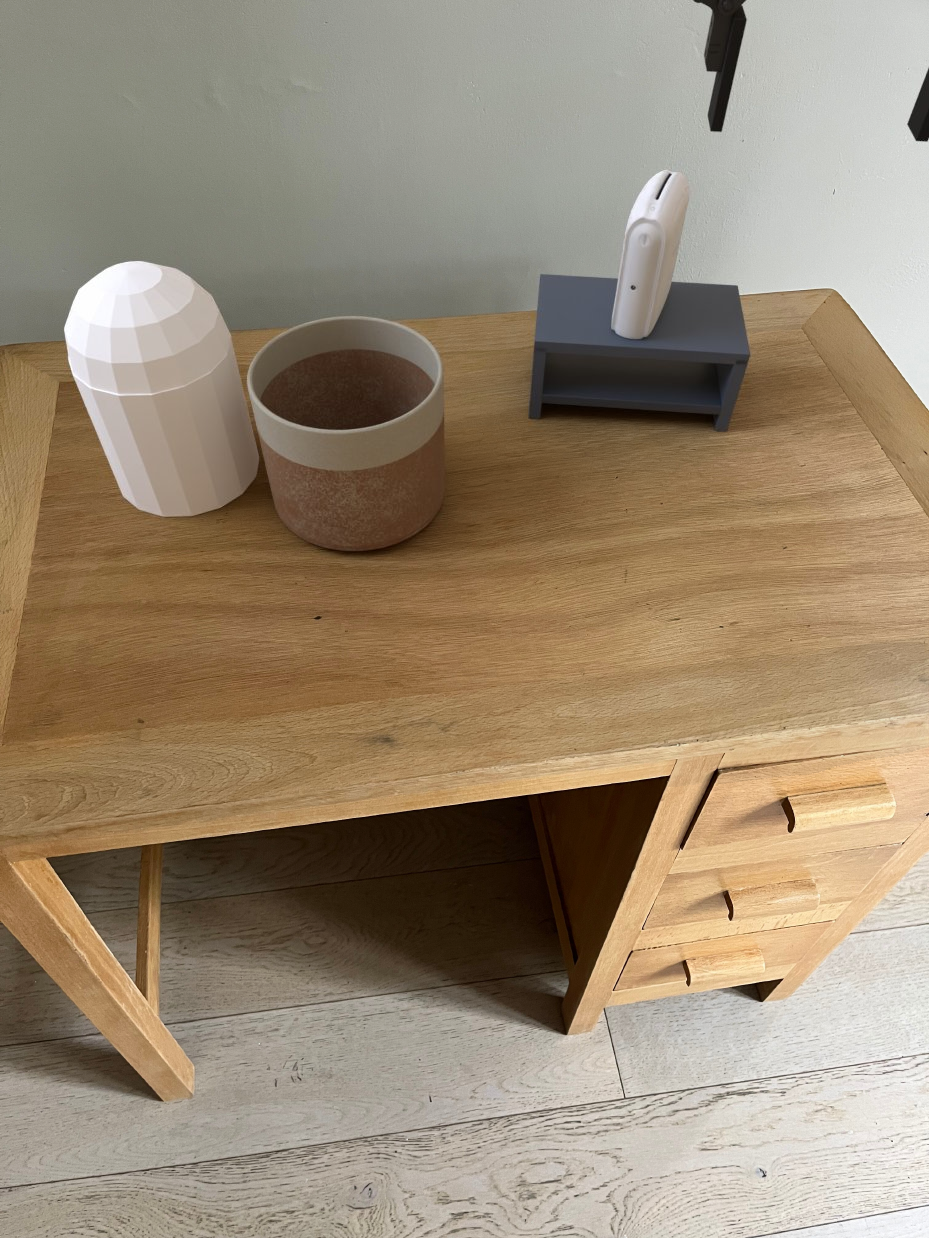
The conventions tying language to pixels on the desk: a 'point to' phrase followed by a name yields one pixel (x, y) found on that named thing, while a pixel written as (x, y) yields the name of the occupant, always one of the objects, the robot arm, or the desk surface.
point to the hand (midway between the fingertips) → (814, 129)
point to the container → (162, 388)
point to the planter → (351, 430)
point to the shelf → (639, 350)
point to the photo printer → (649, 254)
